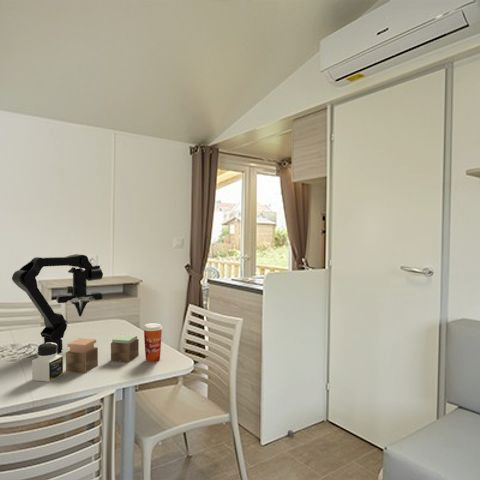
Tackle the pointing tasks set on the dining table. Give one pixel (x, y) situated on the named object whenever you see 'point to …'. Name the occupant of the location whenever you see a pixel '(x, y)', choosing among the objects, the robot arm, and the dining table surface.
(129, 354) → the block
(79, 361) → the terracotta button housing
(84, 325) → the dining table surface
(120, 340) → the sage button
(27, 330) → the dining table surface
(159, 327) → the paper cup
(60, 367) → the medicine bottle
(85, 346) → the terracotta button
